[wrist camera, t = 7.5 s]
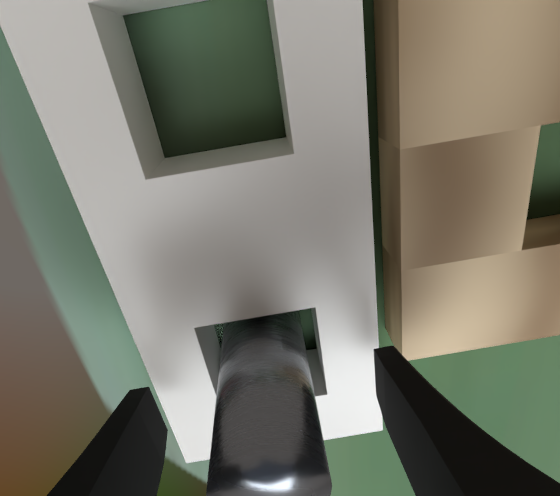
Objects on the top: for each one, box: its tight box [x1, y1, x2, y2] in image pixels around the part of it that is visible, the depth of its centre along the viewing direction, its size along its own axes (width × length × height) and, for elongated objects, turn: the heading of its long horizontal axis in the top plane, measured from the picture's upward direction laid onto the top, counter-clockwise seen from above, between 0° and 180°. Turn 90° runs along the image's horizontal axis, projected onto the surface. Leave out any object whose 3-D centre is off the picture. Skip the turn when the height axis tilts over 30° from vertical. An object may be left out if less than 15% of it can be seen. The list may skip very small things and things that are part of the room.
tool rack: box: [0, 0, 383, 463], centre depth 12 cm, size 8×18×2 cm, turn 9°
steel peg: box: [206, 310, 332, 496], centre depth 12 cm, size 3×3×7 cm
